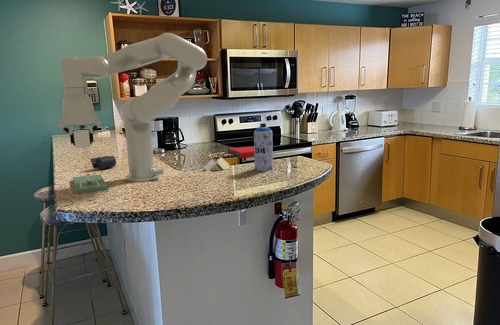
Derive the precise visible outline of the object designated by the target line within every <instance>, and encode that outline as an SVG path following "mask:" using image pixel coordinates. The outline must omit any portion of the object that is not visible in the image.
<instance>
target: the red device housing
mask: <svg viewBox="0 0 500 325" xmlns="http://www.w3.org/2000/svg"><path fill="white" fill-rule="evenodd" d="M227 154H229V155H232V156H234V157H236V158H239V159H247V158H255V156H254V145H253V146H241V147H229V148H227Z"/></svg>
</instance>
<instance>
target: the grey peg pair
mask: <svg viewBox="0 0 500 325" xmlns="http://www.w3.org/2000/svg"><path fill="white" fill-rule="evenodd" d="M90 175H91V174H90V173H88V174H87V173H86V175H85V176H86V178H87V183H88V185H91V184H92V180H91V176H90Z"/></svg>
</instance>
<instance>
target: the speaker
mask: <svg viewBox="0 0 500 325" xmlns="http://www.w3.org/2000/svg"><path fill="white" fill-rule="evenodd" d="M89 159H90V162H91V165H92V168H93V169H94V170H95V169H98V170H104V169H109V168H114V167H116V166H117V159H116V157H115V156H114V155H107V156H101V157H100V156H99V157H98V156H97V157H93V158H89Z"/></svg>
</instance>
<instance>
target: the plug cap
mask: <svg viewBox="0 0 500 325" xmlns="http://www.w3.org/2000/svg"><path fill="white" fill-rule="evenodd" d="M73 133H74V140H75V146H74V147H75V149H80V148H81V149H82V148H90V147H91V145H90V139H89V129H80V130H79V129H78V130H73Z"/></svg>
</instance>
